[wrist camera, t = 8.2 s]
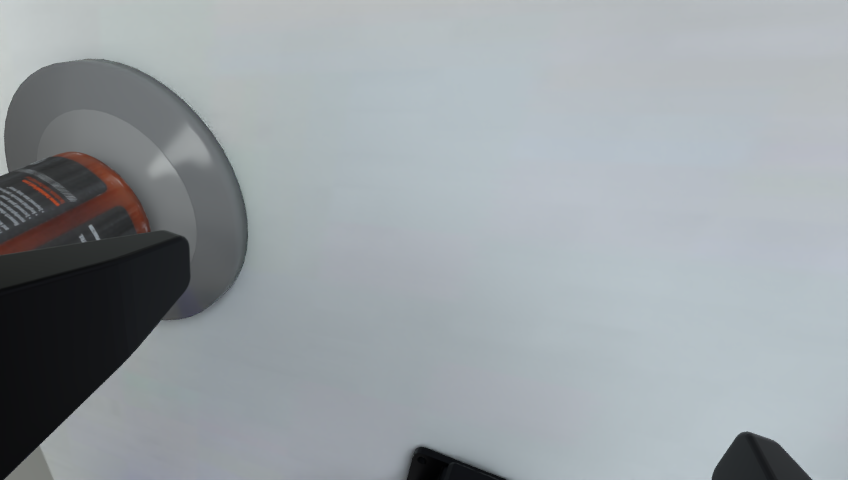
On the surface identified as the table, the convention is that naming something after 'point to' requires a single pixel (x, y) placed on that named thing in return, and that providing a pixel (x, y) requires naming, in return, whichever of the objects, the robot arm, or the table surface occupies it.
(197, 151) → the plate
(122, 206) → the supplement bottle
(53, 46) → the table surface
